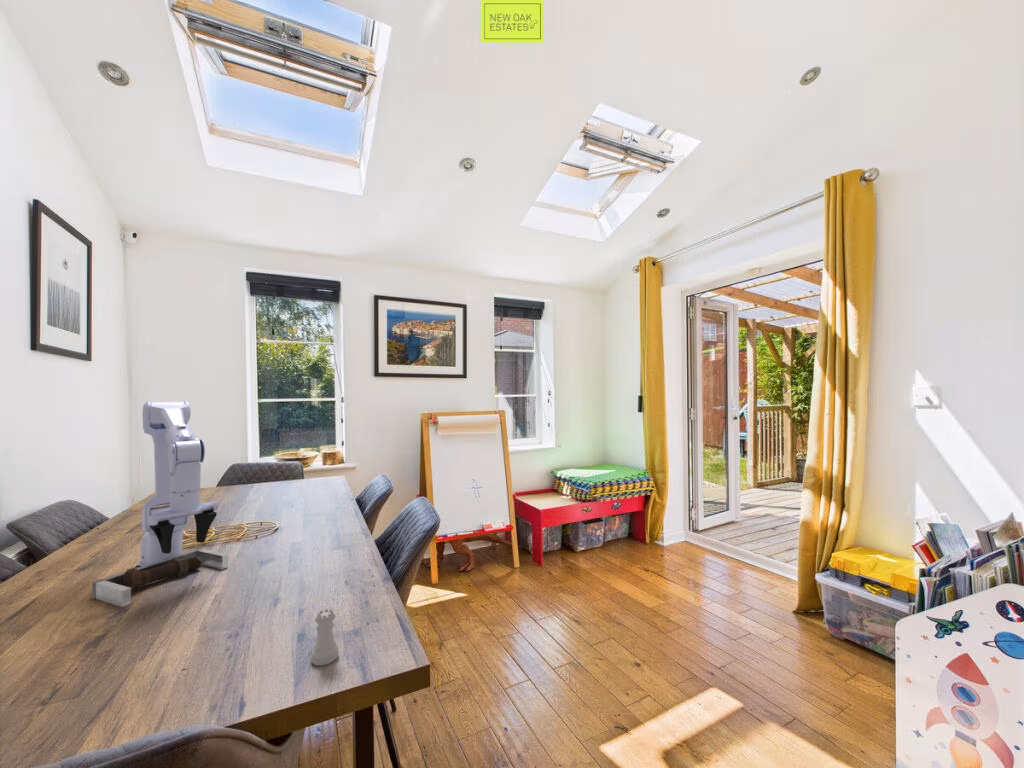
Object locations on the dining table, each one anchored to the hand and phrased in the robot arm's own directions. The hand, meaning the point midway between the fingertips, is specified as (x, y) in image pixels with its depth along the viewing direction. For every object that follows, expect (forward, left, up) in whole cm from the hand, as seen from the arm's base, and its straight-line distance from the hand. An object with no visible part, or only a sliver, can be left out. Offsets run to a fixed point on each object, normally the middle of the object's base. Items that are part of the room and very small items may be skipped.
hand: (184, 547), depth 102 cm
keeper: (-7, 0, -9) cm, 11 cm away
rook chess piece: (+54, -9, -9) cm, 55 cm away
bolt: (-7, 0, -10) cm, 12 cm away
